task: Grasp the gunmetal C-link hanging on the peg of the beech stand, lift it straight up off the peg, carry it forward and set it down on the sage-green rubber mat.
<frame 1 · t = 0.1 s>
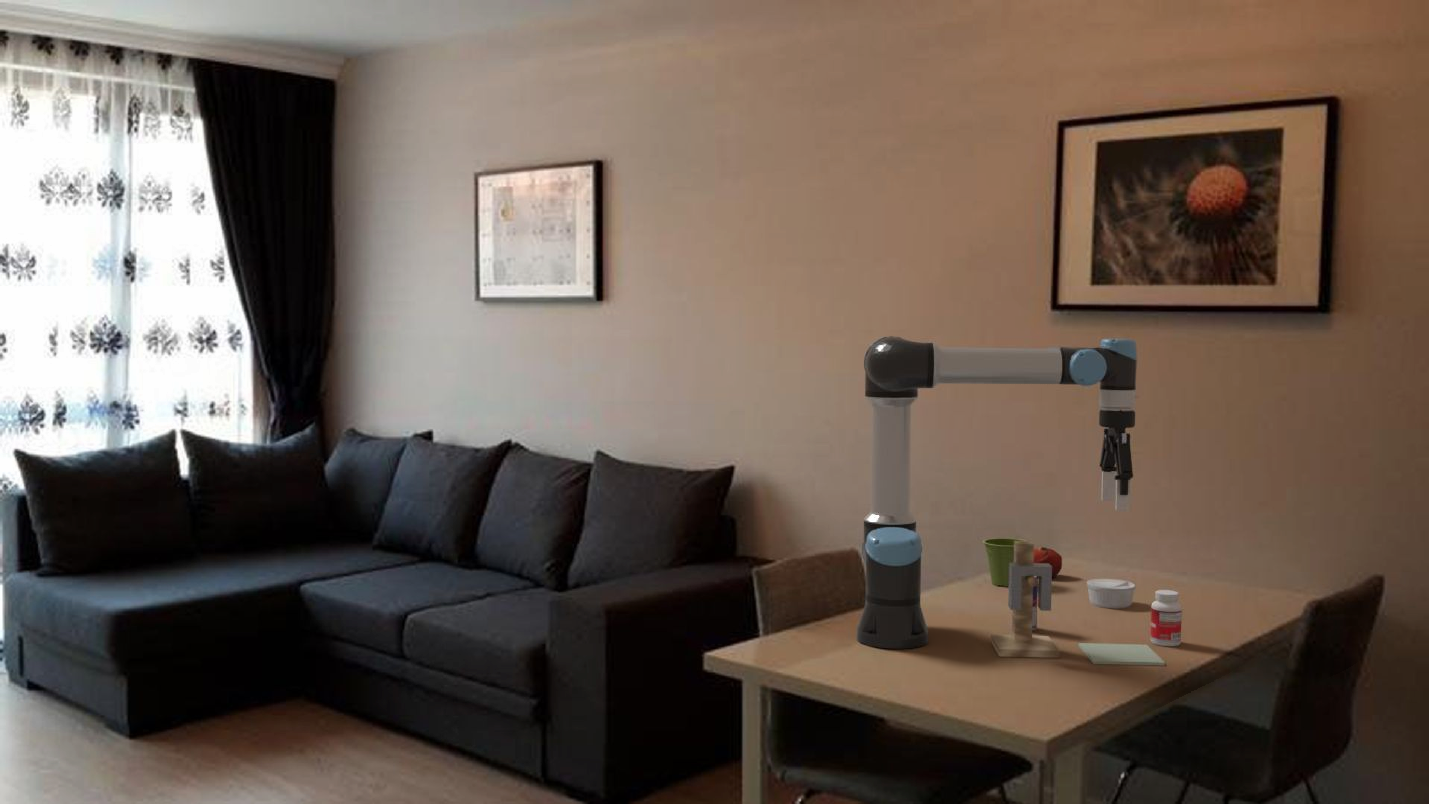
hand: (1114, 505, 281), 28 cm above the table, tool pointing down, fingers open, 13 cm apart
energy drink: (1024, 629, 284), on the table
c link: (1029, 608, 260), point 10 cm above the table, touching stand
mat: (1120, 655, 262), on the table
stand: (1021, 645, 269), on the table
pill bottle: (1165, 644, 272), on the table
plant pot: (1005, 585, 331), on the table
ramekin: (1110, 605, 309), on the table
tomato: (1044, 577, 341), on the table
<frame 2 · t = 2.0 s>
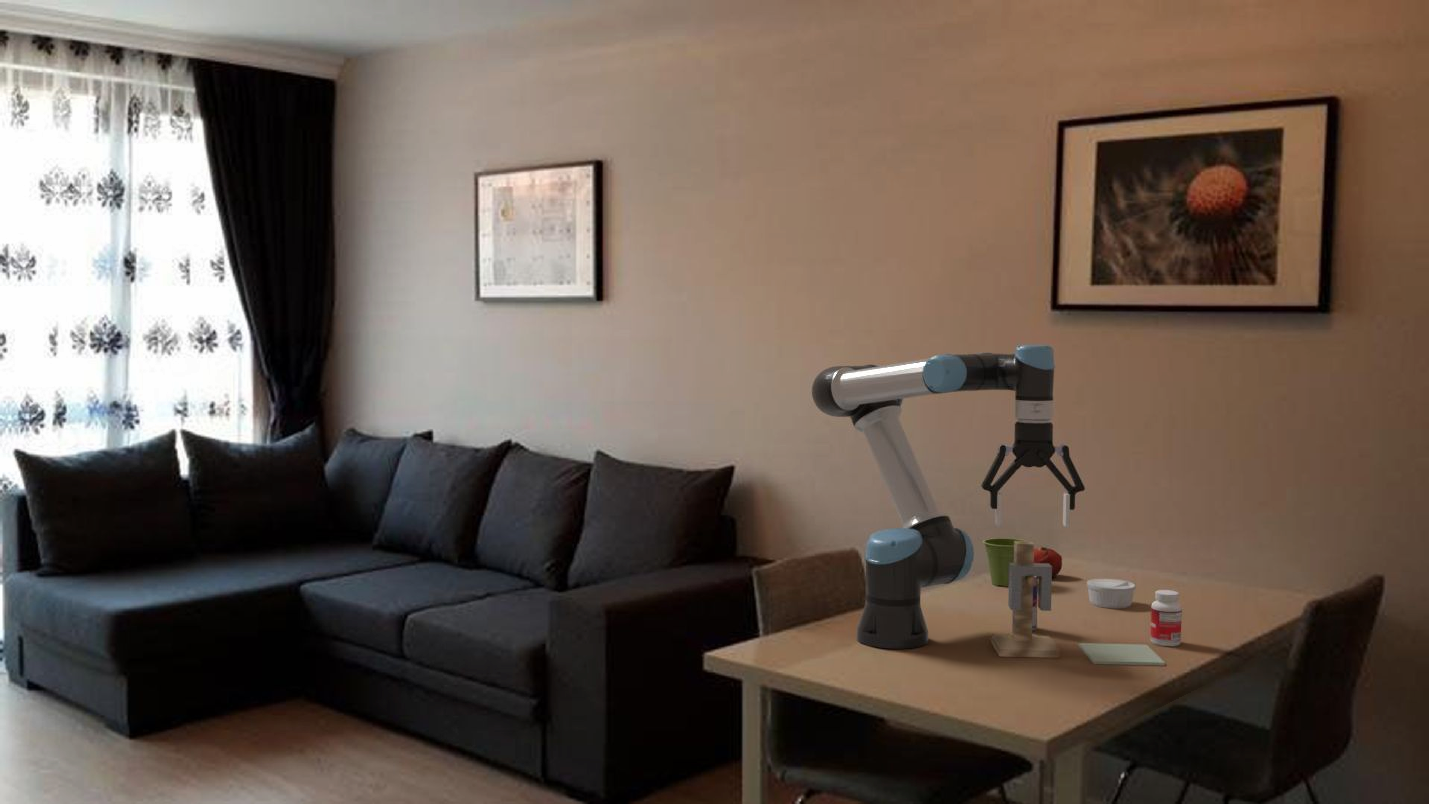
hand: (1032, 525, 259), 27 cm above the table, tool pointing down, fingers open, 13 cm apart
nothing on the table moved.
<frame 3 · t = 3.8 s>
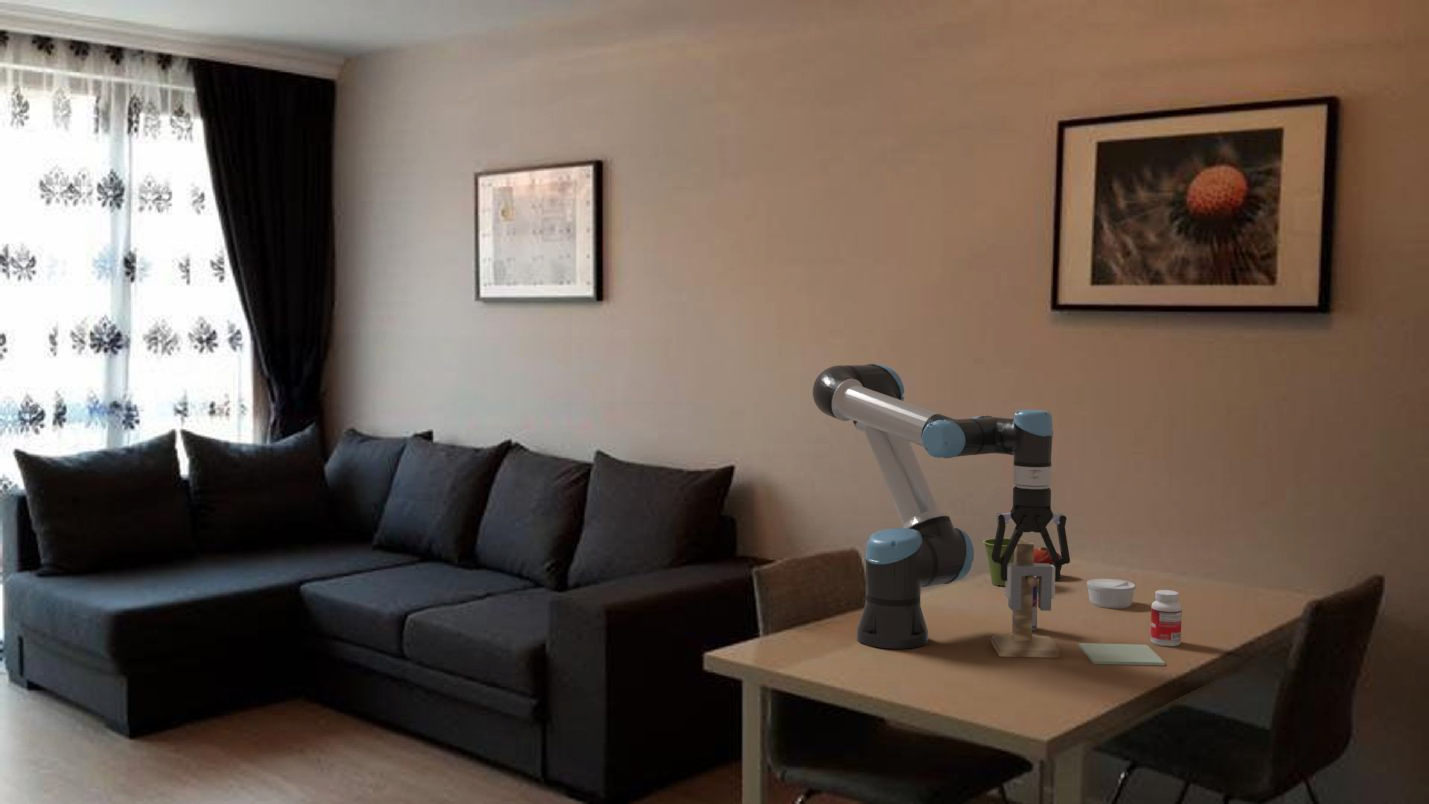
hand: (1029, 597, 260), 12 cm above the table, tool pointing down, fingers closed on c link, 8 cm apart
c link: (1029, 608, 260), point 10 cm above the table, touching gripper, stand
everything else where it was.
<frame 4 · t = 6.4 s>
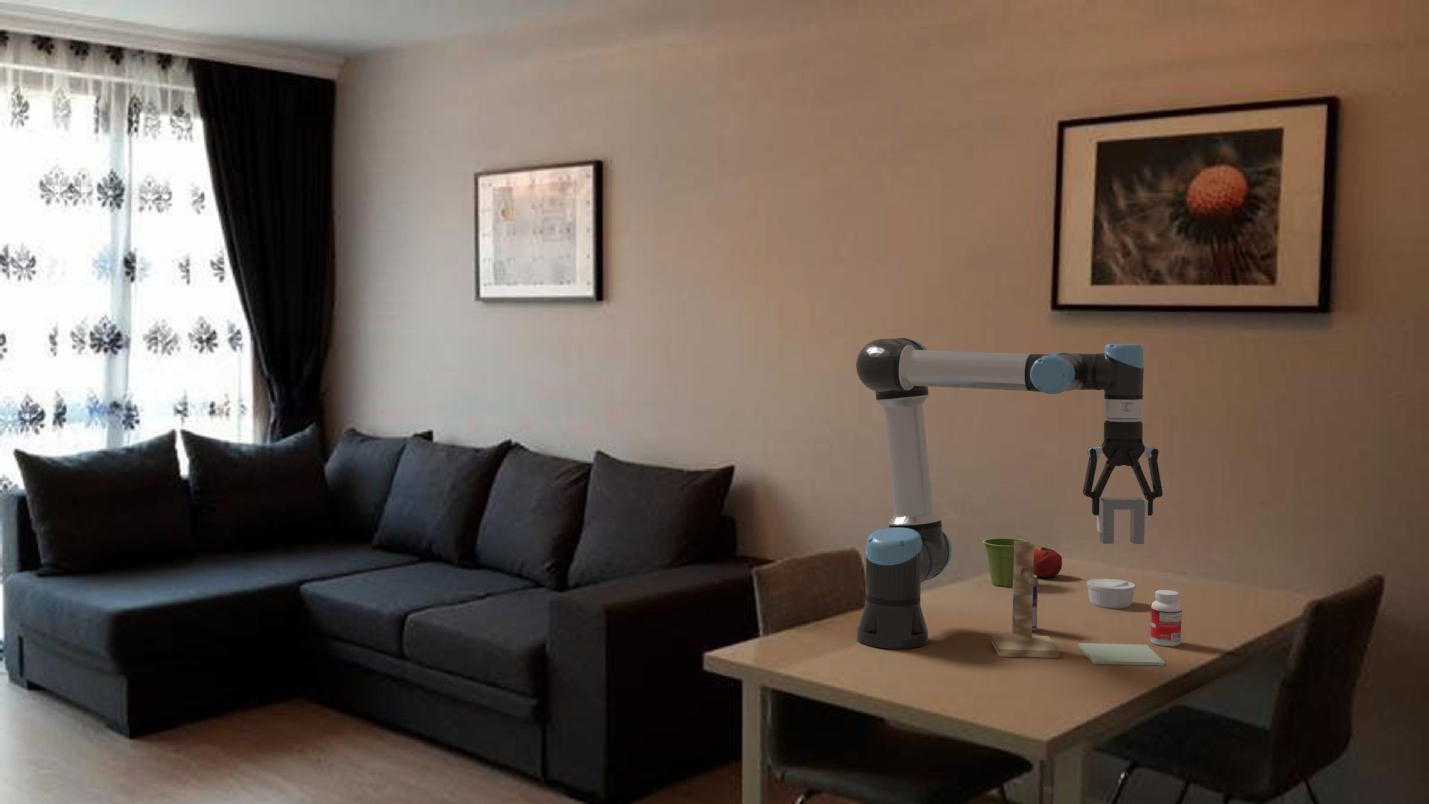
hand: (1121, 531, 260), 26 cm above the table, tool pointing down, fingers closed on c link, 8 cm apart
c link: (1121, 542, 260), point 23 cm above the table, touching gripper
everything else where it was.
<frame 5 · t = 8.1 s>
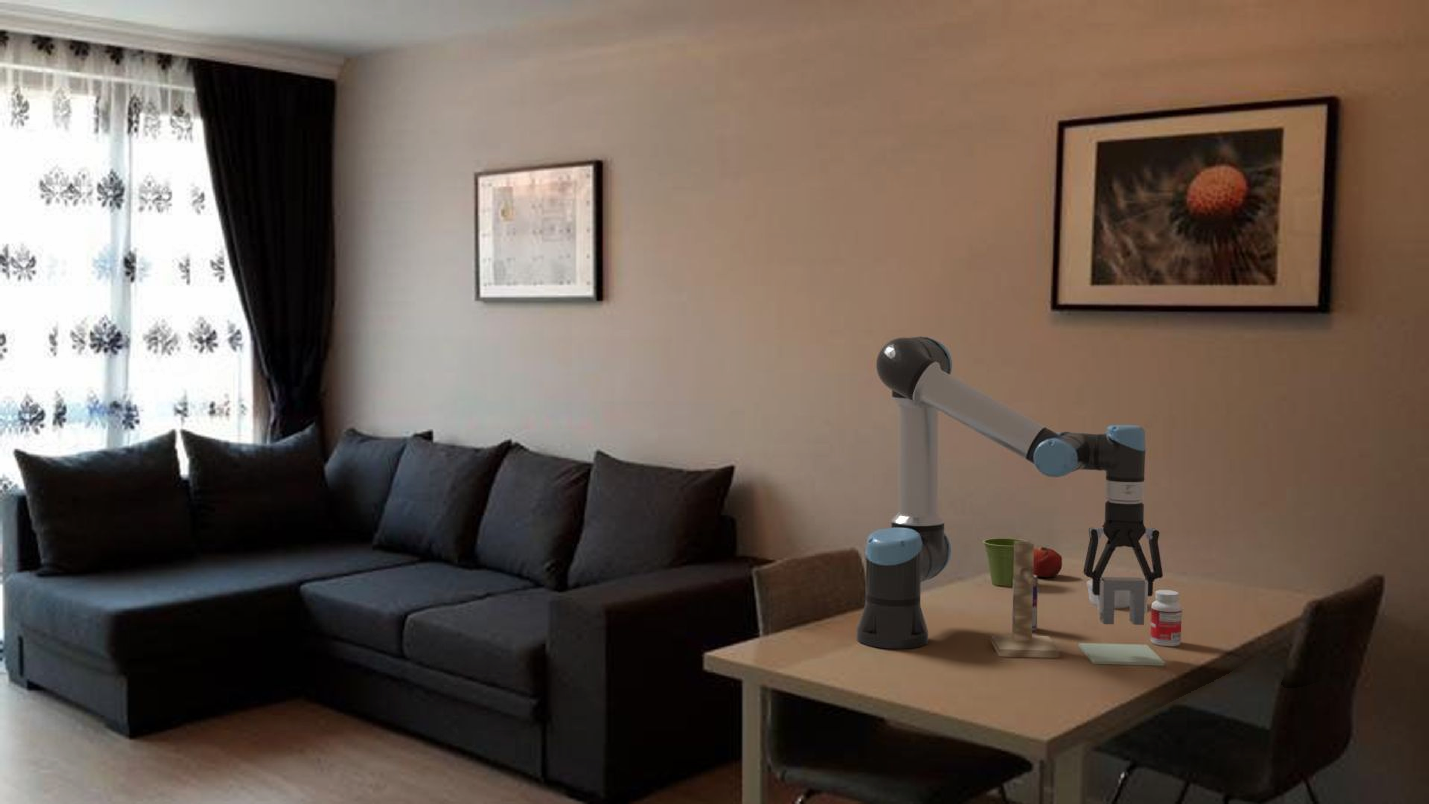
hand: (1121, 611, 261), 9 cm above the table, tool pointing down, fingers closed on c link, 8 cm apart
c link: (1121, 622, 261), point 7 cm above the table, touching gripper
everything else where it was.
when the fingers open (4 cm above the table, at t = 9.4 s): c link drops 1 cm, resting on mat.
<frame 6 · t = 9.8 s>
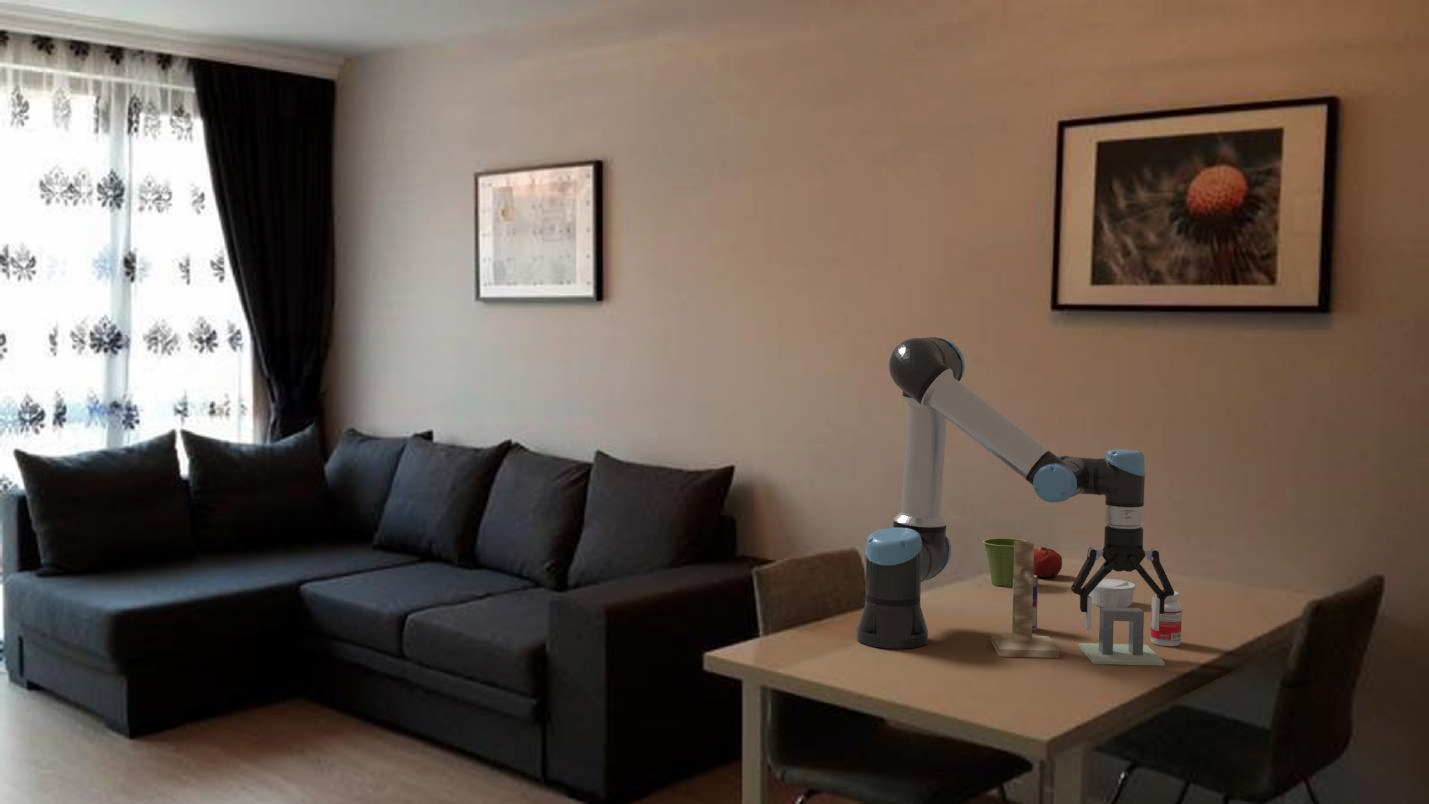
hand: (1121, 628, 261), 6 cm above the table, tool pointing down, fingers open, 13 cm apart
c link: (1120, 652, 261), point 1 cm above the table, touching mat
everything else where it was.
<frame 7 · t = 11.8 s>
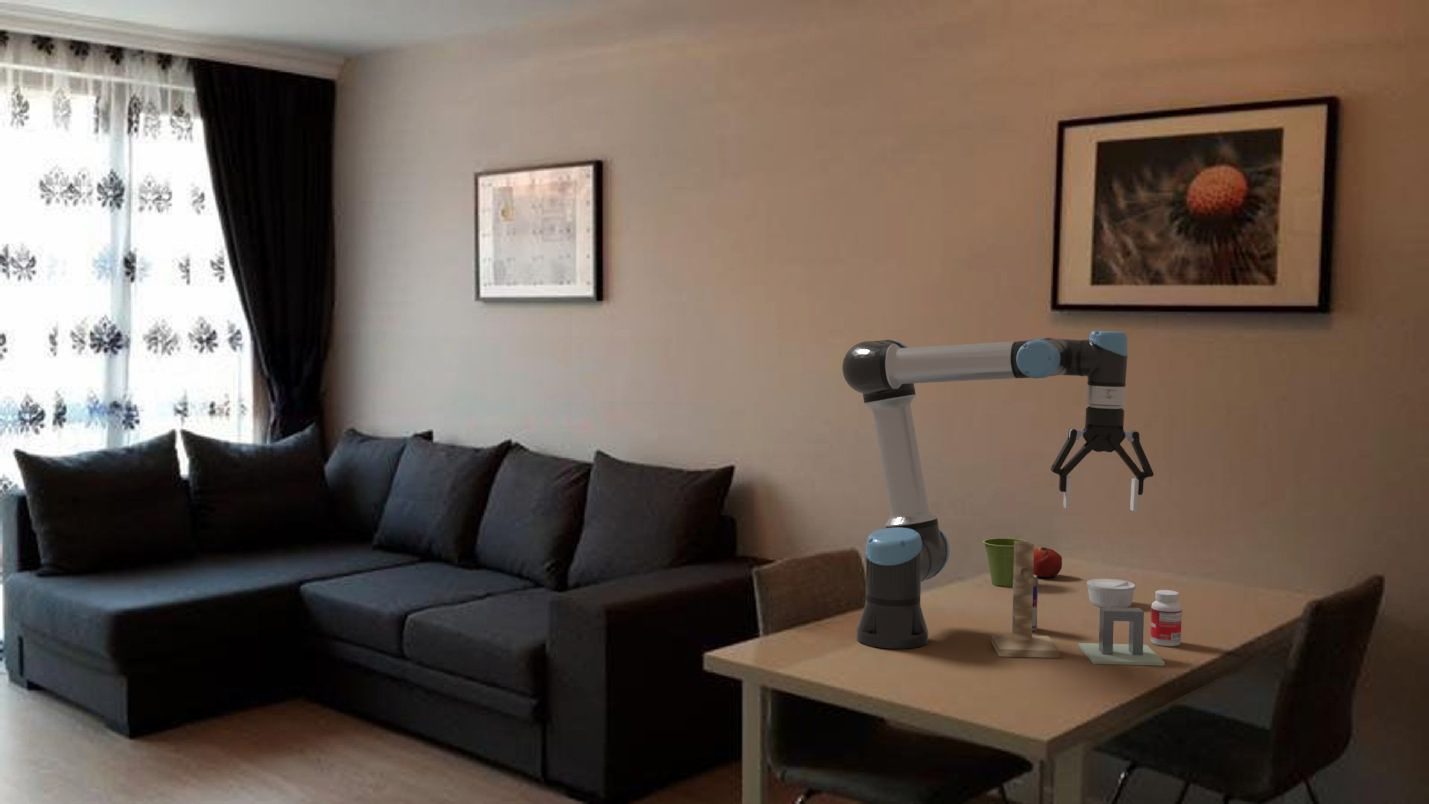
hand: (1099, 509, 263), 30 cm above the table, tool pointing down, fingers open, 13 cm apart
nothing on the table moved.
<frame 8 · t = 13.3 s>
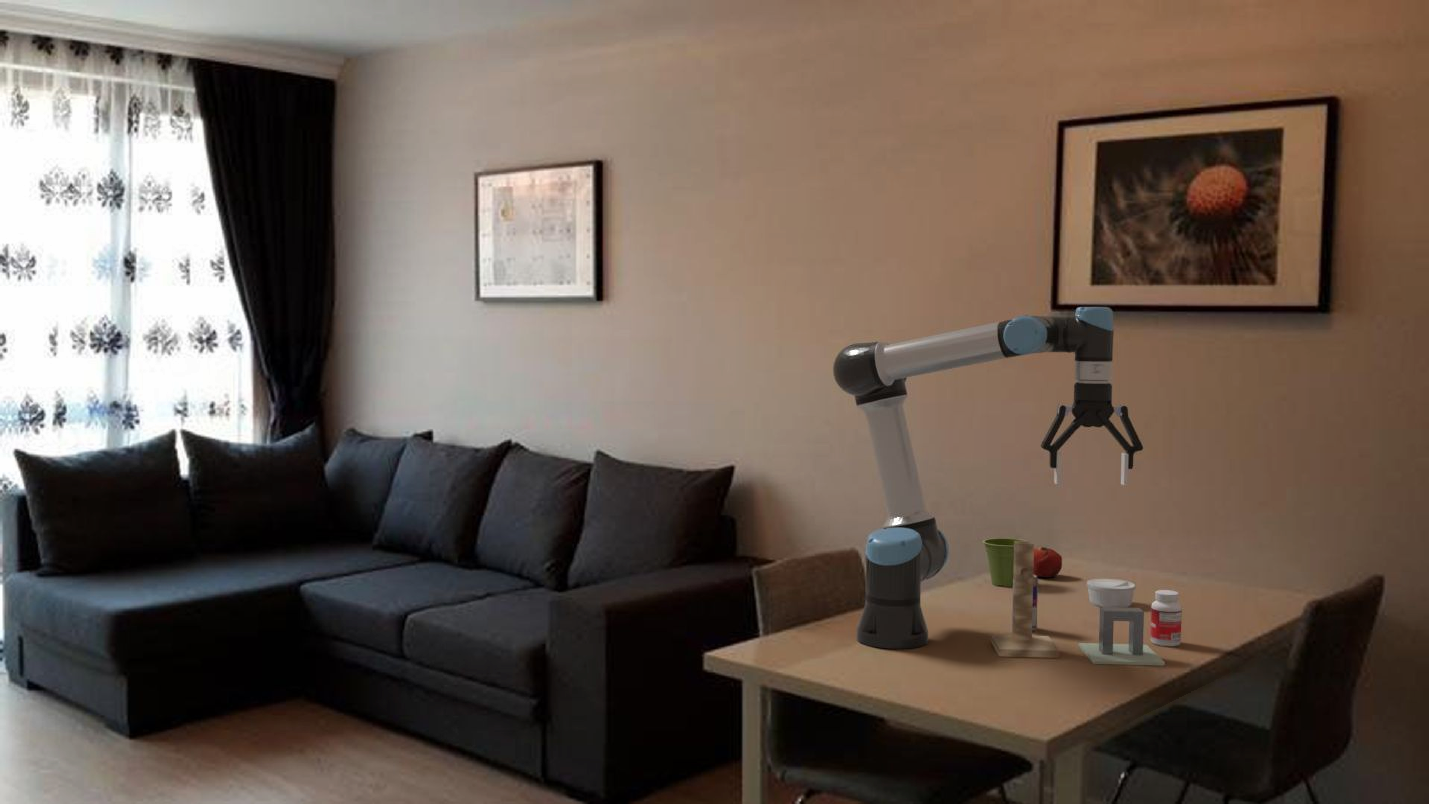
hand: (1090, 484, 264), 35 cm above the table, tool pointing down, fingers open, 13 cm apart
nothing on the table moved.
at the end: c link inside the target area on the mat (0.1 cm from its centre), point 0.6 cm above the mat's base; the gripper is holding nothing; c link touching mat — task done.
